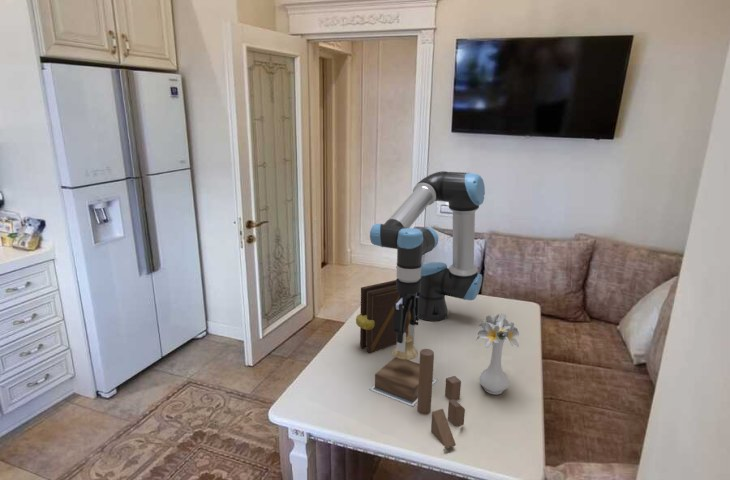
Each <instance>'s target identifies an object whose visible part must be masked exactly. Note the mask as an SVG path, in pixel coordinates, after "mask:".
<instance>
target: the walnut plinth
mask: <svg viewBox="0 0 730 480" xmlns="http://www.w3.org/2000/svg"><path fill="white" fill-rule="evenodd" d="M419 366H420V362H415V361H413V360H411V359H410V360H403V359H399V358H396V357H395V356H394V358H392V359H391V360H389V362H388V363H386V364H385V365H384V366H382V367H381V368H380V369H379V370H378V371H377V372H376V373H375V374H374V385H375V388H377V389H379V390H382V391H385V392H387V393H390V394H392V395H395V396H398V397H400V398H403V399H405V400H408V401H411V402H414V401H415V400H416V399H417V398H418V386H419ZM432 382H433V380H432Z"/></svg>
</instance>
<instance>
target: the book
mask: <svg viewBox="0 0 730 480" xmlns="http://www.w3.org/2000/svg"><path fill="white" fill-rule="evenodd" d="M399 296H400V293H399V292H398V291H397V290H396V279H395V280H390V281H385V282H380V283H375V284H371V285H367V286H362V287H360V313H359V314H358V315H357V316H356V318H355V324H356V325H357V327H359V328H360V329H359V330H360V331H359V338H360V339H359V347H360V349H366V353H367V354H368V355H370V354H373V353H376V352H379V351H382V350H385V349H388V348H390V347H394V346H397V333H395V332H393V323H394V303H398V301H399ZM404 309H405V308H404Z"/></svg>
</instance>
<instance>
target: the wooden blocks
mask: <svg viewBox="0 0 730 480" xmlns="http://www.w3.org/2000/svg"><path fill="white" fill-rule="evenodd" d="M434 360H435V352H434V350H432V349H429V348H423V349H421V350H420V353H419V364H420V366H419V386H418V402H417V407H416V408H417V412H418V414H420V415H429V414H430V413H431V423H430V424H431V427H430V432H431V434H433V436H434V437H435V438H436V439H437V440H438V441H439V442H440V444H442V446H443V447H444V448H443V449H445V450H446V449H449V448H452V447H455V446H457V444H456V442H455V439H454V436H453V432H452V429H451V428H450V425H449V423H450V424H451V425H452V426H453V427H457V426H458V427H461V426H464V425H465V424H464V423H465V413H466V409H465V407H464V406H463V405H462V404H461V403H460V402H459V401H458V400H460V399H461V387H462V381H461V379H459V378H458V377H457V376H455V375H453V376H449V377H446V379H445V389H444V390H445V391H444V397H445V398H446V399H447V400H448V408H447V409H448V411H447V415H446V414H445V411H444V409H443V408H440V409H436V410H434V411H432V412H431V410H432V393H433V386H432V380H433V378H434Z"/></svg>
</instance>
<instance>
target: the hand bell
mask: <svg viewBox="0 0 730 480" xmlns="http://www.w3.org/2000/svg"><path fill="white" fill-rule="evenodd" d="M405 309H406V308H405ZM410 319H411V314H410V311H409V312H408V314H407V320H406V326H405V333H406V342H405V352H400V351H397V350H396V348H397V346H396V347H395V348H393V350H392V353H391V354H392V355H393V357H394V358H395V357H396V358H399V359H403V360H410V361H411V360H413V359H416V358H417V357H418V356H419V352H418V350H417V349H416V348H415V347H414V345H413V339H412V337H410V336H408V333H409V332H408V331H409V323H410Z"/></svg>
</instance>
